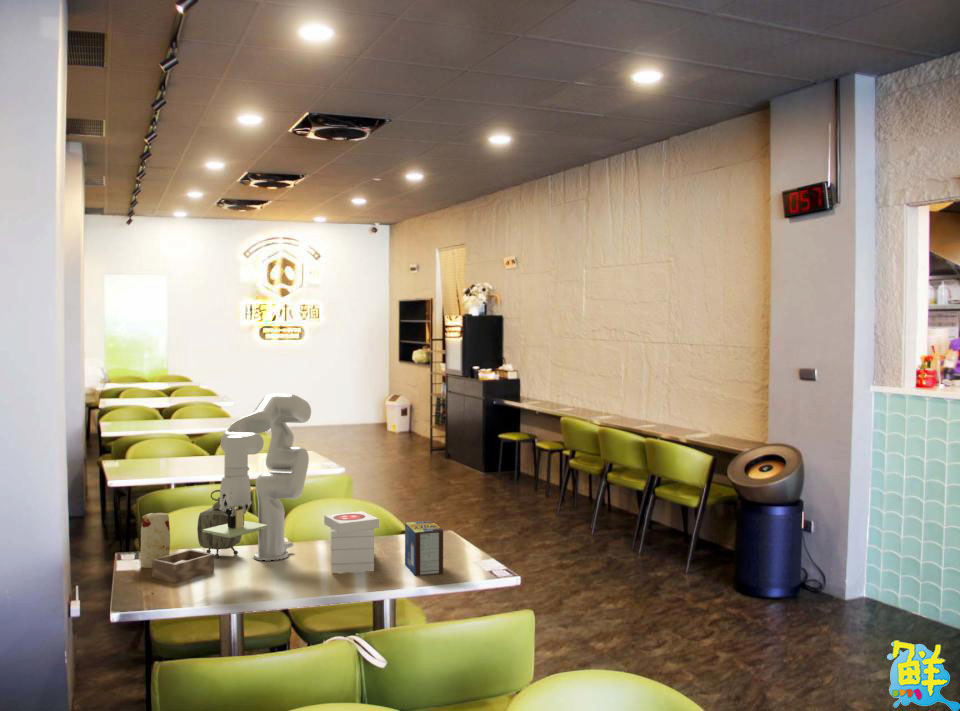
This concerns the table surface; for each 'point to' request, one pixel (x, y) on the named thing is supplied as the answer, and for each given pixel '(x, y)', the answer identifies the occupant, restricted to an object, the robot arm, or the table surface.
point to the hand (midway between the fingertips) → (235, 525)
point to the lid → (240, 528)
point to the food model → (154, 538)
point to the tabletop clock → (213, 519)
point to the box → (182, 566)
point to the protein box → (424, 548)
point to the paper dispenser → (352, 541)
